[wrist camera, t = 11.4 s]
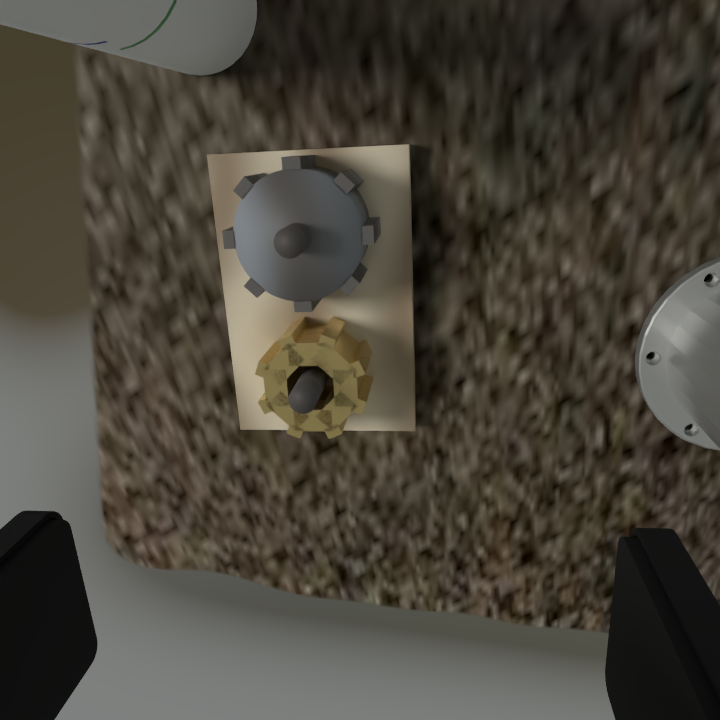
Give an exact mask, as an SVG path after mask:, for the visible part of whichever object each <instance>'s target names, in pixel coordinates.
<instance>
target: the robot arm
mask: <svg viewBox="0 0 720 720" xmlns="http://www.w3.org/2000/svg"><path fill="white" fill-rule="evenodd" d="M708 274H710V278H709V279H708V280H707V281H704V279H705V276H706V275H708ZM650 352H653V354H652V356H650V357H646V356H647V354H649V353H650ZM635 370H636V378H637V382H638V385H639V389H640V392H641V394H642V396H643V398H644V400H645V402H646V403H647V405H648V407H649V409H650V410H651V411H652V412H653V413H654V415H655V416H656V417H657V419H658V420H659V421H660V422H661V423H662V424H663V425H664V426H666V427H667V428H668V429H669V430H670V431H671V432H672V433H674V434H675V435H677V436H679V437H680V438H682V439H683V440H685V441H687V442H690V443H693V444H696V445H698V446H701V447H704V448H708V449H714V450H719V451H720V257H719V258H717V259H714V260H711V261H709V262H706V263H704V264H702V265H701V266H699V267H697V268H695V269H694V270H692V271H690V272H689V273H687V274H685V275H684V276H683V277H682V278H680V279H679V280H678V281H677V282H676V283H674V284H673V285H672V286H671V287H670V288H668V290H667V291H666V292H665V293H664V294H663V295H662V296H661V298H660V299H659V300H658V301H657V302H656V303H655V305H654V306H653V308H652V310H651V311H650V313H649V315H648V316H647V318H646V320H645V321H644V324H643V327H642V329H641V332H640V335H639V338H638V341H637V347H636V354H635ZM688 424H690V425H689V426H688V427H686V426H687V425H688ZM96 651H97V637H96V633H95V629H94V624H93V620H92V616H91V611H90V607H89V603H88V599H87V594H86V590H85V586H84V582H83V577H82V573H81V569H80V564H79V560H78V556H77V551H76V547H75V543H74V539H73V535H72V530H71V527H70V524H69V523H68V522H67V521H65V520H63V518H62V516H61V515H60V514H59V513H57V512H54V511H22V512H21V513H19V514H18V515H16V516H15V517H14V518H13V519H12V520H11V521H9V522H8V523H7V524H6V525H5V526H4V527H3V528H1V529H0V720H54V719H55V718H56V716H57V715H58V713H59V712H60V710H61V709H62V707H63V706H64V704H65V703H66V701H67V700H68V698H69V697H70V695H71V694H72V692H73V691H74V689H75V688H76V686H77V685H78V683H79V682H80V680H81V679H82V678H83V676H84V674H85V673H86V672H87V670H88V668H89V667H90V665H91V664H92V662H93V660H94V658H95V654H96ZM605 675H606V676H605V678H606V687H607V692H608V696H609V699H610V703H611V706H612V710H613V713H614V716H615V719H616V720H720V606H719V604H718V602H717V601H716V599H715V597H714V595H713V594H712V592H711V590H710V589H709V587H708V585H707V584H706V582H705V580H704V579H703V577H702V575H701V574H700V572H699V570H698V569H697V567H696V565H695V564H694V562H693V560H692V559H691V557H690V555H689V554H688V552H687V550H686V549H685V547H684V545H683V544H682V542H681V540H680V539H679V537H678V535H677V534H676V532H675V531H674V530H672V529H663V528H634V529H632V531H631V534H630V537H620V539H619V541H618V549H617V559H616V568H615V578H614V588H613V598H612V608H611V618H610V628H609V638H608V648H607V658H606V668H605Z"/></svg>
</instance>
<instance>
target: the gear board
mask: <svg viewBox="0 0 720 720" xmlns="http://www.w3.org/2000/svg"><path fill="white" fill-rule="evenodd" d="M207 159H208V168H209V176H210V184H211V192H212V200H213V208H214V216H215V225H216V233H217V241H218V249H219V257H220V265H221V273H222V281H223V290H224V298H225V306H226V314H227V322H228V330H229V338H230V347H231V355H232V363H233V371H234V379H235V387H236V395H237V404H238V412H239V420H240V428H241V429H242V430H288V428H289V425H288V424H287V423H285V422H284V421H283V420H282V419H281V418H280V417H278V416H277V415H276V414H275V413H274V412H273V411H272V412H270V413H267V414H264V412H263V411H262V409H261V407H260V405H259V403H258V401H259V399H260V398H261V396H262V395H263V394H264V392H265V388H264V379H263V377H260V376H258V375H255V372H256V368H257V365H258V362H259V360H260V359H261V358H262V357H263V356H264V354H265V353H266V352H267V351H268V349H269V348H270V347H271V346H272V345H273V343H274V342H275V341H278V339H279V338H280V337H281V336H282V335H283V333H284V332H285V331H286V330H287V329H288V327H289V326H290V325H291V324H292V322H294V321H296V320H298V319H301V318H303V317H306V319H307V321H308V323H309V324H328V323H329V321H330V320H331V318H332V316H334V317H337V318H339V319H342V320H344V321H346V322H345V325H344V328H343V329H344V330H345V331H346V332H347V333H348V334H349V335H350V336H351V337H353V338H354V339H355V340H356V341H357V342H358V343H360V342H362V341H365V340H367V342H368V344H369V346H370V348H371V350H372V355H371V358H370V361H369V364H368V367H367V370H366V375H367V376H370V377H372V378H373V382H372V385H371V389H370V392H369V396H368V399H367V403H366V405H365V408H364V410H363V413H362V415H360V414H358V413H355V412H352V413H351V414H350V415H349V416H348V418H347V421H346V424H345V427H344V430H354V431H415V429H416V400H415V354H414V308H413V262H412V216H411V170H410V144H406V145H387V146H367V147H348V148H329V149H309V150H290V151H271V152H251V153H232V154H213V155H207ZM325 385H334V384H333V378H331V377H330V376H329V375H328V374H327V373H326V372H325V371H324V370H322V369H321V368H320V367H319V366H302V374H301V376H300V378H299V379H298V381H297V383H296V384H295V386H294V388H293V389H292V391H291V393H290V394H289V397H288V402H289V405H290V407H291V408H292V409H293V410H294V411H295V412H297V413H301V414H306V413H309V412H311V411H312V410H313V409H314V408H315V406H316V404H317V402H318V400H319V398H320V396H321V393H322V391H323V389H324V387H325Z"/></svg>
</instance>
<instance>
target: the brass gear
mask: <svg viewBox="0 0 720 720" xmlns="http://www.w3.org/2000/svg"><path fill="white" fill-rule="evenodd" d="M345 322H346V321H344V320H342V319H339V318H337V317H334V316H332V318H331V320H330V321H329V323H328V324H309V323H308V321H307V319H306V317H303V318H301V319H298V320H296V321H294V322H292V324H291V325H290V326H289V327H288V329H287V330H286V331H285V332H284V333H283V335H282V336H281V337H280V338H279V339H278V341H275V342H274V343H273V345H272V346H271V347H270V348H269V349H268V351H267V352H266V353H265V354H264V356H263V357H262V358H261V359H260V360H259V362H258V365H257V368H256V372H255V375H258V376H260V377H263V379H264V388H265V392H264V394H263V395H262V396H261V398H260V399H259V401H258V403H259V405H260V407H261V409H262V411H263V412H264V414H267V413H270V412H272V411H273V412H274V413H275V414H276V415H277V416H278V417H280V418H281V419H282V420H283V421H284V422H285V423H287V424H288V425H289V428H288V431H287V434H289V435H292V436H295V437H297V438H301V436H302V434H303V432H304V431H325V433H326V434H327V436H328V438H329V439H330V438H333V437H335V436H338V435H341V434H342V433H343V430H344V427H345V424H346V421H347V418H348V416H349V415H350V414H351V413H352V412H355V413H358V414H360V415H362V413H363V410H364V408H365V405H366V403H367V399H368V396H369V392H370V389H371V385H372V382H373V378H372V377H370V376H367V375H366V370H367V367H368V364H369V361H370V358H371V355H372V350H371V348H370V346H369V344H368V342H367V340H365V341H362V342H360V343H358V342H357V341H356V340H355V339H354V338H353V337H351V336H350V335H349V334H348V333H347V332H346V331H345V330H344V329H343V328H344V325H345ZM302 366H319V367H320V368H321V369H322V370H324V371H325V372H326V373H327V374H328V375H329V376H330V377H331V378H333V384H334V385H325V387H324V389H323V391H322V393H321V396H320V398H319V400H318V402H317V404H316V406H315V408H314V409H313V410H312V411H311V412H309V413H306V414H301V413H297V412H295V411H294V410H293V409H292V408H291V407H290V405H289V402H288V397H289V394H290V393H291V391H292V389H293V388H294V386H295V384H296V383H297V381H298V379H299V378H300V376H301V374H302Z"/></svg>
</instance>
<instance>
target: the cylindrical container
mask: <svg viewBox="0 0 720 720" xmlns="http://www.w3.org/2000/svg"><path fill="white" fill-rule="evenodd" d="M256 20H257V0H0V24H1V25H5V26H9V27H13V28H16V29H20V30H24V31H28V32H32V33H35V34H39V35H43V36H47V37H50V38H55V39H58V40H62V41H66V42H70V43H73V44H77V45H81V46H84V47H88V48H92V49H96V50H99V51H103V52H107V53H111V54H115V55H118V56H122V57H126V58H130V59H133V60H137V61H141V62H145V63H148V64H152V65H156V66H160V67H164V68H167V69H171V70H175V71H179V72H183V73H186V74H191V75H199V76H202V75H211V74H214V73H218V72H221V71H223V70H225V69H226V68H228V67H230V66H231V65H233V64H234V63H235V62H236V61H237V60H238V59H239V58H240V57H241V56H242V54H243V53H244V51H245V50H246V48H247V47H248V46H249V43H250V41H251V38H252V36H253V34H254V30H255V25H256Z"/></svg>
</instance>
